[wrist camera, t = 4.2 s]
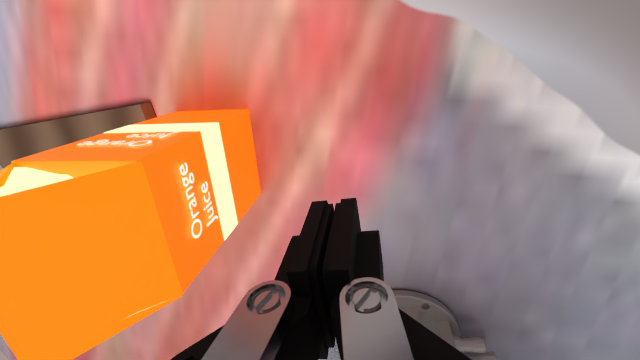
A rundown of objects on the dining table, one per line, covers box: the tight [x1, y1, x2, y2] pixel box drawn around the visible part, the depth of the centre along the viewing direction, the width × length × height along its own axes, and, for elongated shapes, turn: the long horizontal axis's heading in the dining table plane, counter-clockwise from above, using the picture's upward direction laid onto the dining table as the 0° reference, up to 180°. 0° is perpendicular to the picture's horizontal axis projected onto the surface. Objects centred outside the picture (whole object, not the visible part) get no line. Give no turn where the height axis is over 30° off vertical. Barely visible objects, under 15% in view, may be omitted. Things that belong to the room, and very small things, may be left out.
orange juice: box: [0, 109, 261, 360], centre depth 21 cm, size 8×9×20 cm
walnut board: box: [0, 102, 156, 169], centre depth 33 cm, size 20×16×2 cm
